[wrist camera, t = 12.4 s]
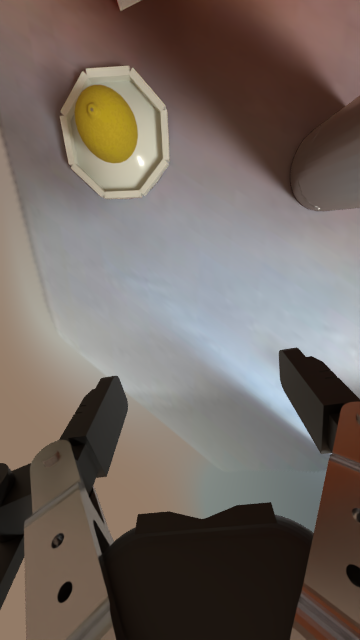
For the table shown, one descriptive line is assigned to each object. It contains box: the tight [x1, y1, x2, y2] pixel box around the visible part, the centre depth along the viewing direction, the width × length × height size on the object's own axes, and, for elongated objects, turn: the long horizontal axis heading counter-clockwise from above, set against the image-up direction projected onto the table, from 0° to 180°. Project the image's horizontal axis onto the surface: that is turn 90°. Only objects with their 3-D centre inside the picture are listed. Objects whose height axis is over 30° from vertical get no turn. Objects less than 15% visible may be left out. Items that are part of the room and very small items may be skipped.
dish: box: [60, 66, 170, 199], centre depth 26 cm, size 12×12×2 cm
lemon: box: [75, 85, 138, 164], centre depth 22 cm, size 6×6×8 cm
